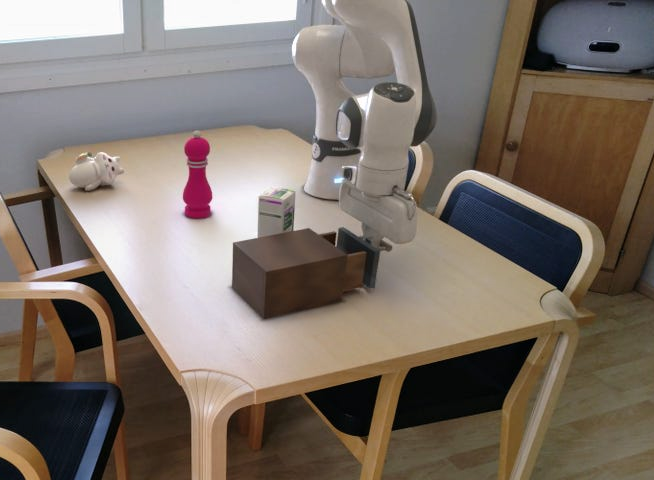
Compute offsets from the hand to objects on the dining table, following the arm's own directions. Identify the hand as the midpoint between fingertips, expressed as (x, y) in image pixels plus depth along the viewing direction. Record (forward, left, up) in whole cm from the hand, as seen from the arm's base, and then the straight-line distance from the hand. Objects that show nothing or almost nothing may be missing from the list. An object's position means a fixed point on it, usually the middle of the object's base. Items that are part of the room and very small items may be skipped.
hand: (371, 247), depth 133 cm
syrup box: (+13, -15, -6) cm, 21 cm away
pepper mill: (+18, -45, -6) cm, 49 cm away
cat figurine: (+35, -75, -6) cm, 83 cm away
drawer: (+8, 0, -5) cm, 10 cm away
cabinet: (+19, 0, -6) cm, 20 cm away
